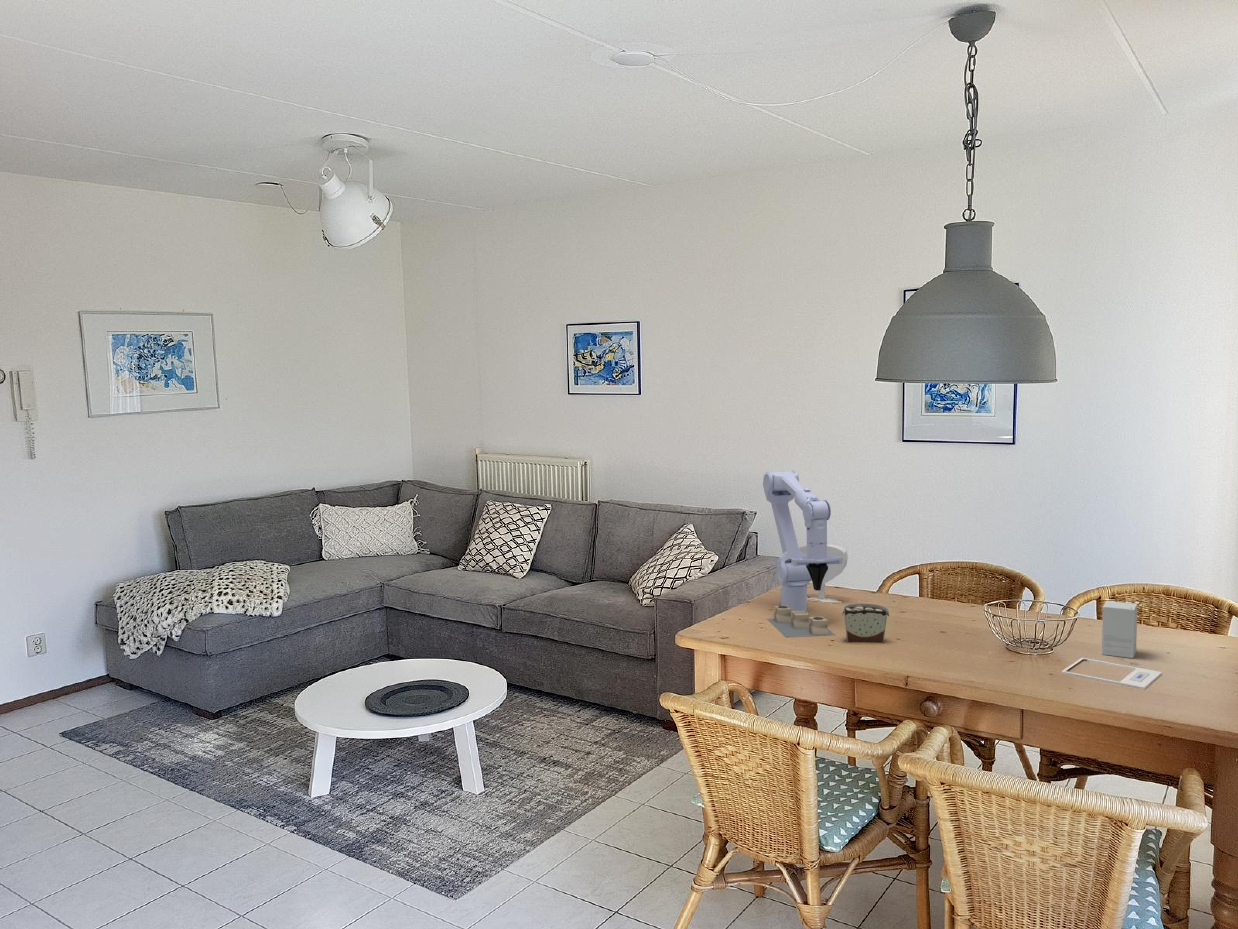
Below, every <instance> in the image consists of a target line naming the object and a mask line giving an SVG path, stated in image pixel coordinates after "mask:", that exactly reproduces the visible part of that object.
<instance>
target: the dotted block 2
mask: <svg viewBox="0 0 1238 929" xmlns="http://www.w3.org/2000/svg"><path fill="white" fill-rule="evenodd" d="M828 622H829V620H828V619H827V618H825V617H824V616H809V632H810V633H812V634H813V635H827V634H828V629H829V628H828V625H829V623H828Z"/></svg>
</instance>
